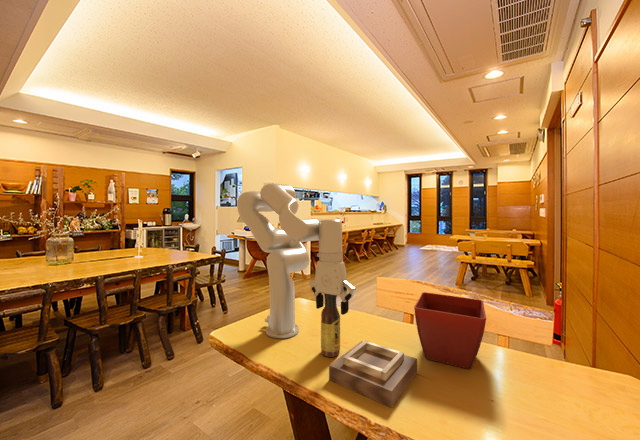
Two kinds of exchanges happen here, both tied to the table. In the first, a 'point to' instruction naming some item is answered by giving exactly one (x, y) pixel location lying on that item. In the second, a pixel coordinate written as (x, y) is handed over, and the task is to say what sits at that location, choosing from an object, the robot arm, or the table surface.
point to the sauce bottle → (330, 327)
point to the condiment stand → (374, 372)
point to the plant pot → (450, 328)
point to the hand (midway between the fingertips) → (331, 310)
